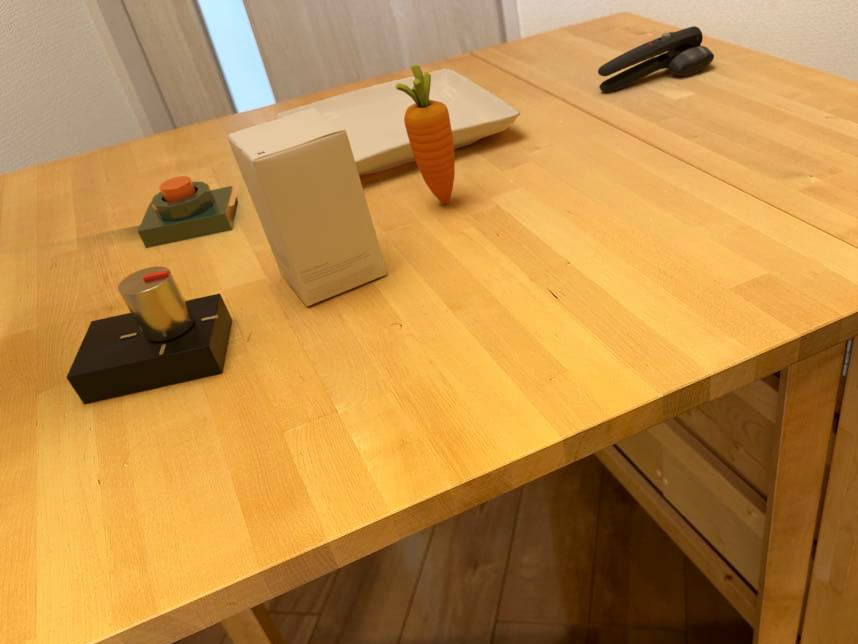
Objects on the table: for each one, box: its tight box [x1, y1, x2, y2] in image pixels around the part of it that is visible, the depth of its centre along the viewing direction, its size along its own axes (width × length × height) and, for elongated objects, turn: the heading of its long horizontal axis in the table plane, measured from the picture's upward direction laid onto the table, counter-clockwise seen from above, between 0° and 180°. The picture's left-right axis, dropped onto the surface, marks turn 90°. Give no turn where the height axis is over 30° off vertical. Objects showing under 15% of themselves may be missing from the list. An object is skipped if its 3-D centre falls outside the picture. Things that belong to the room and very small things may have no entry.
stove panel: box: [66, 293, 233, 405], centre depth 69 cm, size 12×9×3 cm
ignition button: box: [158, 175, 196, 202], centre depth 89 cm, size 4×4×2 cm
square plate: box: [275, 68, 521, 177], centre depth 104 cm, size 27×27×4 cm
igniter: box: [137, 181, 239, 249], centre depth 91 cm, size 10×8×4 cm
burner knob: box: [117, 266, 194, 342], centre depth 67 cm, size 4×4×5 cm
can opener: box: [597, 25, 715, 93], centre depth 109 cm, size 18×7×6 cm, turn 114°
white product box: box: [227, 108, 388, 307], centre depth 74 cm, size 9×9×15 cm
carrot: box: [396, 64, 456, 205], centre depth 83 cm, size 5×5×15 cm
